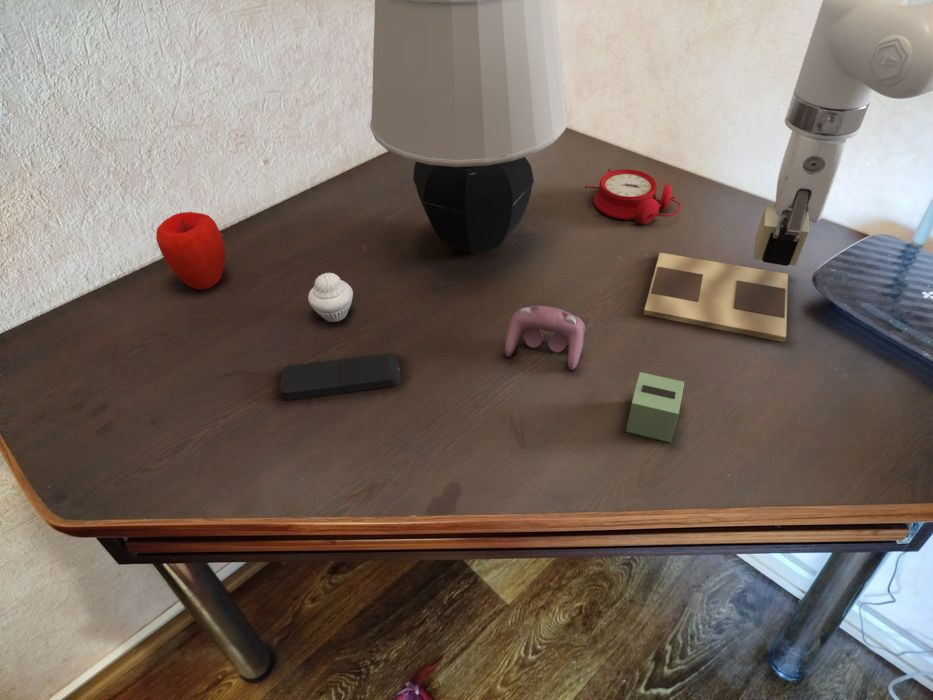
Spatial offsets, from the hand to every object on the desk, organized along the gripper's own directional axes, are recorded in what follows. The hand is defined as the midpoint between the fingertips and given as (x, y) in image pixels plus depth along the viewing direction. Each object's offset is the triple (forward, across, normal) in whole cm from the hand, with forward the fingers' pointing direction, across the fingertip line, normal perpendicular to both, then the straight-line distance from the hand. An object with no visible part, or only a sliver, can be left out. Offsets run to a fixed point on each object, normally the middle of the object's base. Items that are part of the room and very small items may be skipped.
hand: (776, 248), depth 82 cm
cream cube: (0, 0, 0) cm, 0 cm away
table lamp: (+10, +2, +42) cm, 43 cm away
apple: (+10, -19, +78) cm, 81 cm away
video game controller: (+9, -18, +25) cm, 33 cm away
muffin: (+10, -20, +55) cm, 60 cm away
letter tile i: (+9, -26, +10) cm, 29 cm away
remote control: (+10, -31, +48) cm, 58 cm away
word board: (+9, 0, +5) cm, 11 cm away
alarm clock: (+10, +20, +20) cm, 30 cm away
